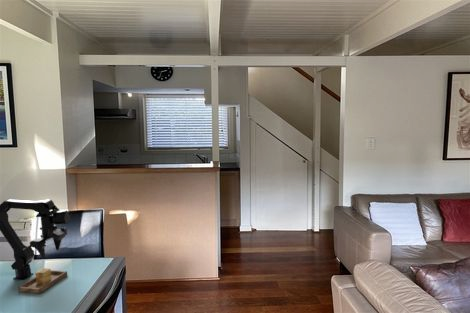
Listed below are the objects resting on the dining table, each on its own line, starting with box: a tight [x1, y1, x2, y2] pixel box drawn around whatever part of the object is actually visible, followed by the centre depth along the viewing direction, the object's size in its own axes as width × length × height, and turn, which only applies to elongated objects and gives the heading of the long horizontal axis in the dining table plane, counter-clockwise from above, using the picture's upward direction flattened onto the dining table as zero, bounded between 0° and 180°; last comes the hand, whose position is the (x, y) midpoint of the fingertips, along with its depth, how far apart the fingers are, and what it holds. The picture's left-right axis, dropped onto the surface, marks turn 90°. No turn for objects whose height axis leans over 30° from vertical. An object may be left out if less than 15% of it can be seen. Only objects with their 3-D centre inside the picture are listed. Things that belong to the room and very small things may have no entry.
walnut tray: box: [17, 269, 68, 295], centre depth 161 cm, size 12×18×2 cm, turn 169°
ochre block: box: [35, 267, 51, 285], centre depth 161 cm, size 4×4×6 cm
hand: (50, 253), depth 169 cm, fingers open, 9 cm apart
